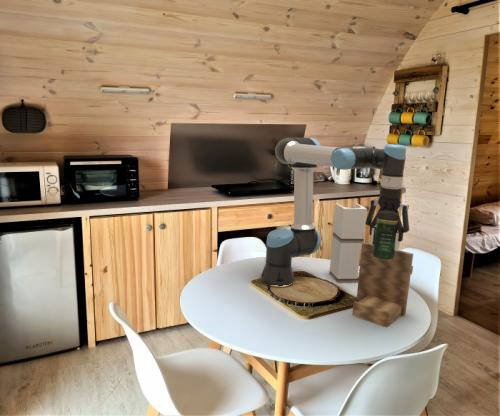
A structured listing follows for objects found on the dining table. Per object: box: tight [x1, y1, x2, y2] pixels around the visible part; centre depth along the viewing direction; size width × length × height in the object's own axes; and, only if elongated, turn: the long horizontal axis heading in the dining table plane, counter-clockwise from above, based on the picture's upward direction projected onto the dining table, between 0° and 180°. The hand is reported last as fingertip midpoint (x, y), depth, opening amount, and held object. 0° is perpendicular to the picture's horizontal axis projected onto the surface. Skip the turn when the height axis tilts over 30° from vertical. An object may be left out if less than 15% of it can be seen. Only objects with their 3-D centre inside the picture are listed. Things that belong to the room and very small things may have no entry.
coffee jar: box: [373, 209, 400, 260], centre depth 164 cm, size 10×8×19 cm
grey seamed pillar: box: [328, 202, 368, 284], centre depth 204 cm, size 11×11×35 cm
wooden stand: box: [351, 241, 414, 328], centre depth 170 cm, size 20×17×25 cm
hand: (384, 246), depth 165 cm, fingers closed on coffee jar, 9 cm apart
